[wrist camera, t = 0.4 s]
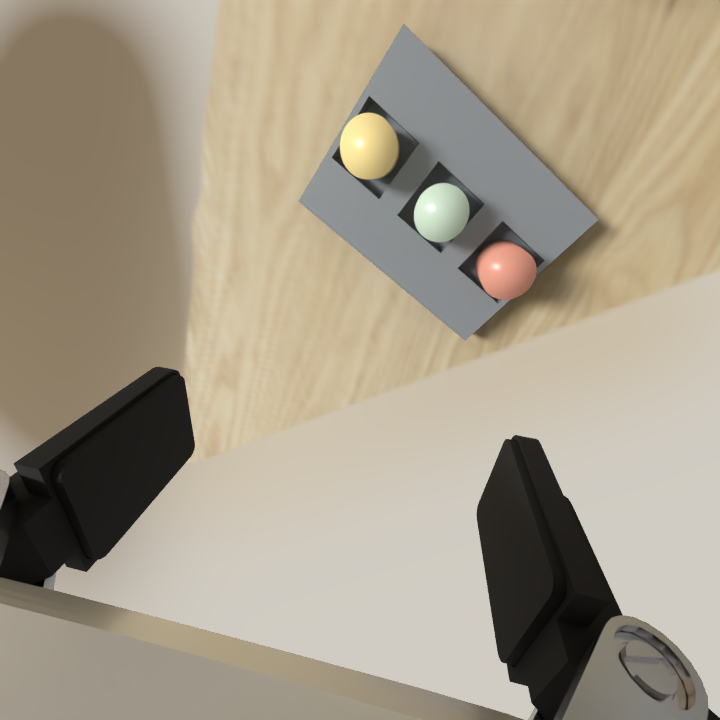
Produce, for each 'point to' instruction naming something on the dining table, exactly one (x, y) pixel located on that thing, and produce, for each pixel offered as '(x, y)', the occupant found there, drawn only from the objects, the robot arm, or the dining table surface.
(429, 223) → the button sage
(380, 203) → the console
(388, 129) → the button ochre
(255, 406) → the dining table surface
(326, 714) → the robot arm
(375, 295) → the dining table surface
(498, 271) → the button brick
